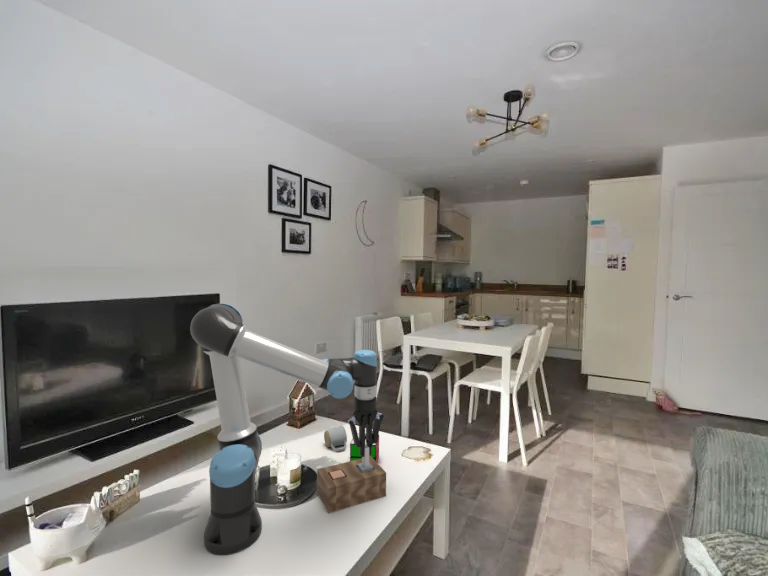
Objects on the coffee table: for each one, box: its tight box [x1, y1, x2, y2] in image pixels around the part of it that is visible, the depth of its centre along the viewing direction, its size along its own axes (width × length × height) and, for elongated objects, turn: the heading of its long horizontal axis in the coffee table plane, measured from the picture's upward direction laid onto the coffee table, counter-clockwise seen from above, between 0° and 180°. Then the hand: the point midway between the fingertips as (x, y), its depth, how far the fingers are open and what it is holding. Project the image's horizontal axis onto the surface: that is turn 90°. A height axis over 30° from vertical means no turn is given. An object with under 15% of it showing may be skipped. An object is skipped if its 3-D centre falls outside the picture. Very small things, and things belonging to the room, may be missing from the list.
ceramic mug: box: [323, 425, 348, 453], centre depth 157 cm, size 11×8×8 cm
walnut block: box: [316, 456, 387, 514], centre depth 124 cm, size 20×12×8 cm, turn 117°
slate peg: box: [357, 463, 373, 473], centre depth 126 cm, size 4×4×8 cm
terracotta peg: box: [330, 470, 345, 480], centre depth 122 cm, size 4×4×8 cm
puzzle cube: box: [349, 432, 380, 464], centre depth 144 cm, size 10×10×10 cm
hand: (365, 464), depth 126 cm, fingers closed
